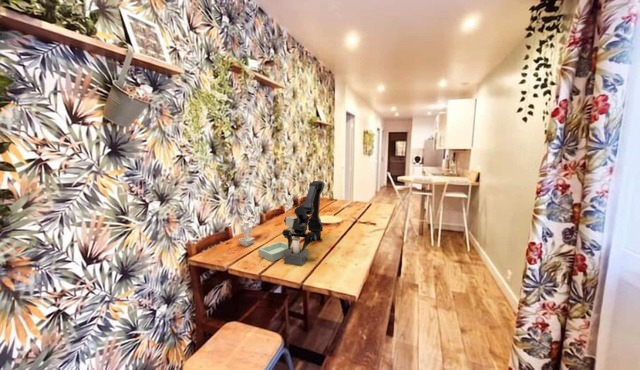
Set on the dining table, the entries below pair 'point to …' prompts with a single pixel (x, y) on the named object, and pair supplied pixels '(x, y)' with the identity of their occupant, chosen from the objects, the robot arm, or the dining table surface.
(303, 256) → the block
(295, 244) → the beige capped cylinder
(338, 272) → the dining table surface
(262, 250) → the tray
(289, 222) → the pneumatic valve
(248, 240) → the figurine
